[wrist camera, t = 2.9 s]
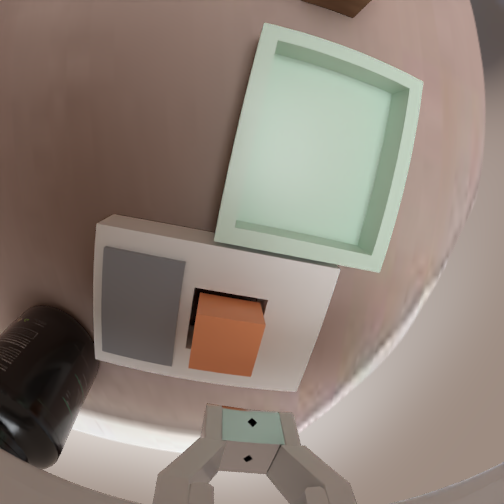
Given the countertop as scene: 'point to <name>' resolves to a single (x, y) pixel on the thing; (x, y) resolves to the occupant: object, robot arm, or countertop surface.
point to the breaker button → (226, 335)
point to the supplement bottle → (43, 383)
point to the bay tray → (319, 152)
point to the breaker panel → (182, 295)
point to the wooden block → (342, 5)
